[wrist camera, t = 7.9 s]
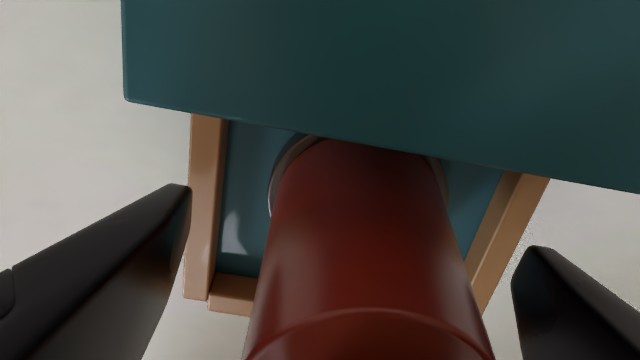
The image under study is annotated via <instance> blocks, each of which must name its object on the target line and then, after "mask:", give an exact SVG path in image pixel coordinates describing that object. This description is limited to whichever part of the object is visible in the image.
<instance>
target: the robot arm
mask: <svg viewBox="0 0 640 360" xmlns="http://www.w3.org/2000/svg"><path fill="white" fill-rule="evenodd" d="M192 198H193V191H192V189H191V187H189V186H184V185H178V184H172V183H171V184H167V185H165V186H163V187H162V188H160V189H158V190H156V191H154V192H152V193H150V194H148V195H146V196H145V197H143V198H141V199H139V200H137V201H135V202H133V203H131V204H129V205H128V206H126V207H124V208H122V209H120V210H118V211H116V212H114V213H112V214H110V215H109V216H107V217H105V218H103V219H101V220H99V221H97V222H95V223H93V224H92V225H90V226H88V227H86V228H84V229H82V230H80V231H78V232H76V233H74V234H73V235H71V236H69V237H67V238H65V239H63V240H61V241H59V242H57V243H56V244H54V245H52V246H50V247H48V248H46V249H44V250H42V251H40V252H38V253H37V254H35V255H33V256H31V257H29V258H27V259H25V260H23V261H21V262H20V263H18V264H16V265H14V266H13V267H12V270H11V269H6V270H4V271H2V272H0V360H141V359H142V357H143V355H144V353H145V350H146V348H147V346H148V344H149V342H150V340H151V338H152V335H153V333H154V331H155V329H156V327H157V325H158V322H159V320H160V318H161V316H162V314H163V311H164V309H165V307H166V304H167V302H168V299H169V296H170V293H171V290H172V287H173V284H174V281H175V277H176V274H177V271H178V268H179V265H180V262H181V258H182V255H183V252H184V249H185V246H186V243H187V239H188V236H189V232H190V228H191V217H192ZM511 293H512V299H513V305H514V311H515V317H516V323H517V329H518V334H519V340H520V346H521V351H522V356H523V360H640V313H639V312H638V311H637V310H635V309H634V308H633V307H631V306H630V305H629V304H627V303H626V302H624V301H623V300H622V299H620V298H619V297H618V296H616V295H615V294H614V293H612V292H611V291H610V290H608V289H607V288H605V287H604V286H603V285H601V284H600V283H599V282H597V281H596V280H595V279H593V278H592V277H590V276H589V275H588V274H586V273H585V272H584V271H582V270H581V269H580V268H578V267H577V266H576V265H574V264H573V263H571V262H570V261H569V260H567V259H566V258H565V257H563V256H562V255H561V254H559V253H558V252H556V251H555V250H554V249H551V248H548V247H542V246H536V245H532V246H530V247H528V248H527V249H526V251H525V252H524V254H523V256H522V258H521V260H520V262H519V264H518V266H517V268H516V270H515V272H514V274H513V276H512V279H511Z"/></svg>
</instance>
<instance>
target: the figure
mask: <svg viewBox="0 0 640 360" xmlns="http://www.w3.org/2000/svg"><path fill="white" fill-rule="evenodd" d="M448 203H449V187H448V182H447V178H446V175H445V172H444V169H443V166H442V164H441V161H440V158H436V157H431V156H425V155H420V154H414V153H409V152H403V151H397V150H392V149H386V148H381V147H375V146H370V145H364V144H359V143H353V142H348V141H342V140H337V139H331V138H326V137H320V136H315V135H309V134H304V133H298V132H297V133H296V134H295V135H294V136H292V137H291V138H290V139H289V140H288V141H287V143H286V144H285V145H284V146H283V148H282V149H281V151H280V152H279V154H278V156H277V158H276V160H275V162H274V165H273V167H272V171H271V175H270V179H269V184H268V188H267V207H268V212H269V216H270V219H271V221H270V226H269V230H268V235H267V240H266V245H265V249H264V254H263V259H262V264H261V268H260V273H259V278H258V283H257V287H256V292H255V297H254V301H253V306H252V311H251V316H250V320H249V325H248V330H247V335H246V339H245V344H244V349H243V354H242V358H241V360H496V359H495V356H494V353H493V350H492V347H491V344H490V341H489V338H488V334H487V331H486V328H485V325H484V322H483V319H482V316H481V313H480V310H479V307H478V304H477V301H476V298H475V295H474V292H473V289H472V286H471V283H470V280H469V277H468V274H467V271H466V268H465V265H464V262H463V259H462V256H461V253H460V250H459V246H458V243H457V240H456V237H455V234H454V231H453V228H452V225H451V222H450V219H449V216H448V213H447V210H448Z"/></svg>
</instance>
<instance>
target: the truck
mask: <svg viewBox="0 0 640 360" xmlns="http://www.w3.org/2000/svg"><path fill="white" fill-rule="evenodd" d="M121 22H122V56H123V91H124V98H125V100H127V101H129V102H132V103H138V104H143V105H149V106H154V107H160V108H165V109H171V110H177V111H182V112H188V113H191V129H190V149H189V170H188V186H189V187H191V189H192V191H193V198H192V217H191V228H190V232H189V236H188V239H187V243H186V246H185V253H184V273H183V294H182V295H183V298H188V299H194V300H200V301H207V300H208V305H207V308H208V310H209V311H214V312H221V313H227V314H234V315H240V316H246V317H250V316H251V311H252V306H253V301H254V297H255V292H256V287H257V283H258V278H259V273H260V268H261V264H262V259H263V254H264V249H265V245H266V240H267V235H268V230H269V226H270V221H271V219H270V216H269V212H268V207H267V188H268V184H269V179H270V175H271V171H272V167H273V165H274V162H275V160H276V158H277V156H278V154H279V152H280V151H281V149H282V148H283V146H284V145H285V144H286V143H287V141H288V140H289V139H290V138H291V137H292V136H294V135H295V134H296V133H297V132H298V133H304V134H309V135H315V136H320V137H326V138H331V139H337V140H342V141H348V142H353V143H359V144H364V145H370V146H375V147H381V148H386V149H392V150H397V151H403V152H409V153H414V154H420V155H425V156H431V157H436V158H440V161H441V164H442V166H443V169H444V172H445V175H446V178H447V182H448V187H449V203H448V210H447V213H448V216H449V219H450V222H451V225H452V228H453V231H454V234H455V237H456V240H457V243H458V246H459V250H460V253H461V256H462V259H463V262H464V265H465V268H466V271H467V274H468V277H469V280H470V283H471V286H472V289H473V292H474V295H475V298H476V301H477V304H478V307H479V310H480V313H481V316H482V314H483V312H484V310H485V308H486V306H487V304H488V302H489V300H490V298H491V296H492V294H493V292H494V290H495V288H496V286H497V284H498V282H499V280H500V278H501V276H502V274H503V272H504V270H505V268H506V266H507V264H508V262H509V260H510V258H511V256H512V254H513V252H514V250H515V248H516V246H517V244H518V242H519V240H520V238H521V236H522V234H523V232H524V230H525V228H526V226H527V224H528V222H529V220H530V218H531V216H532V214H533V212H534V210H535V209H536V207H537V205H538V203H539V201H540V199H541V197H542V195H543V193H544V191H545V189H546V187H547V185H548V183H549V181H550V179H551V178H552V179H558V180H563V181H569V182H574V183H580V184H585V185H591V186H596V187H602V188H607V189H613V190H618V191H624V192H629V193H635V194H640V0H121Z"/></svg>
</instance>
